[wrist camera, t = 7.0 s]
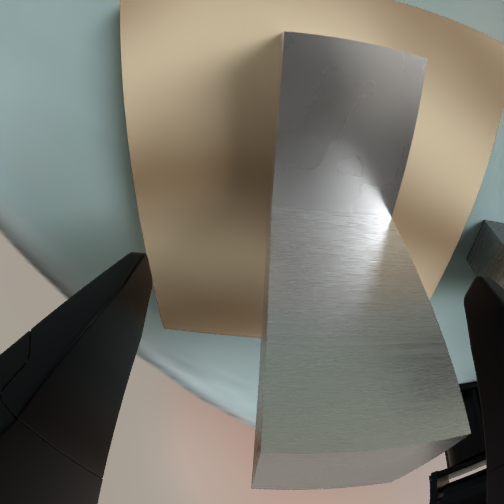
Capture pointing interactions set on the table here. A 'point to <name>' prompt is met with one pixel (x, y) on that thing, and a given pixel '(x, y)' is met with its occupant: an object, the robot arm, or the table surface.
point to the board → (263, 135)
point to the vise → (489, 252)
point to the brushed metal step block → (346, 280)
